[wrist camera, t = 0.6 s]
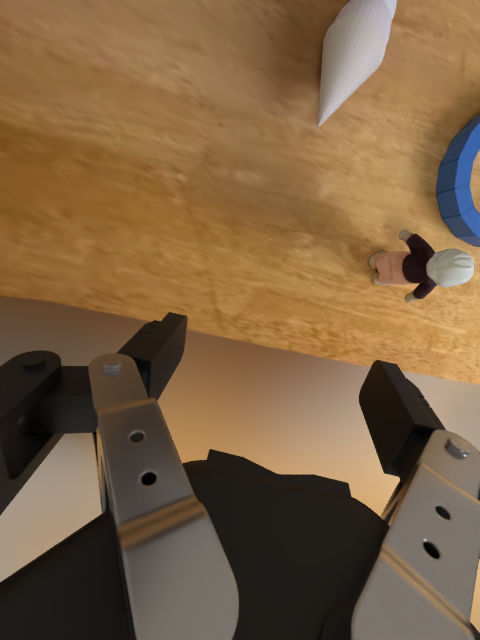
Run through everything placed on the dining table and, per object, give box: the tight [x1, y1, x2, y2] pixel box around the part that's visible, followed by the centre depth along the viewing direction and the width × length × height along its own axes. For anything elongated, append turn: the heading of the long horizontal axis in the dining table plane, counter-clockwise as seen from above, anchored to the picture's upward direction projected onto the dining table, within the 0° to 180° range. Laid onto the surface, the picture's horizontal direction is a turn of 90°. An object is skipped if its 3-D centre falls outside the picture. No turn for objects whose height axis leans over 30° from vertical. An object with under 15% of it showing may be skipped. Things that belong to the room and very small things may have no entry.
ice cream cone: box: [317, 0, 397, 128], centre depth 28 cm, size 6×6×15 cm
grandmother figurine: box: [368, 230, 474, 303], centre depth 30 cm, size 8×4×13 cm, turn 25°
